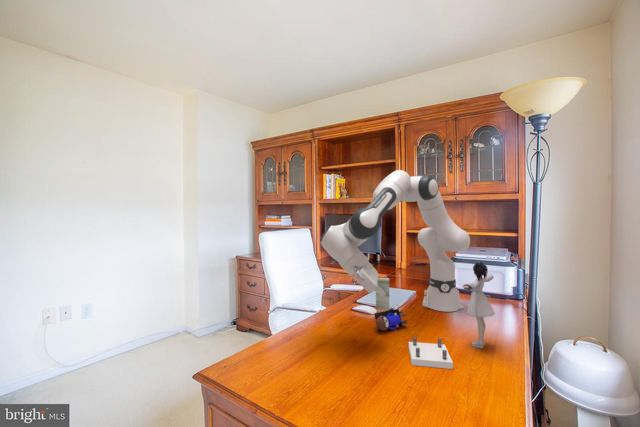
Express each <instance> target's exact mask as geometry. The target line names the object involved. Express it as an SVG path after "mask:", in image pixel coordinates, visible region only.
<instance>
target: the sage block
mask: <svg viewBox="0 0 640 427" xmlns="http://www.w3.org/2000/svg"><path fill="white" fill-rule="evenodd" d="M378 285H379V287H380V288H381V289H383V290H384V291H385V292H386V295H385V296H384V297H382V296H381V295H380V294H378V293H377V292H375V310H379V311H388V310H390V278H389V277H378Z"/></svg>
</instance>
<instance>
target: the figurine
mask: <svg viewBox="0 0 640 427" xmlns="http://www.w3.org/2000/svg"><path fill="white" fill-rule="evenodd" d="M472 270H473V274H474V277H475V276H476V279H475V280H474V281H472V282H468V283H467V284H466V283H465V284H463V285H462V286H461V288H463V290H464V291H466V292H468V293H469V292H470V293H471V294H470V299H469V303H468V308H467V311H466V314H467V315H469V316H470V317H473V318H475V320H476V323H477V331H478V333H477V334H478V335H477V336H478V338H477V340H474V341H472V342H471V346H472V347H473V348H477V349H483V348H484V347H485V338H484V337H485V333H486V332H485V331H486V322H485V319H484V318H488V317H489V318H490V317H493V316H495V314H496V313H495V310H494V309H493V307H492V305H491V303H490V301H489V299H488V298H487V296H486V295H485V293H484V292H483V288H484V286H485V283H489V282H491V281H492V280H493V279H494V275H493V274H491V273H488V267H487V265H486V264H484V263H483V262H482V261H480V262H476V263H474V264H473V267H472Z"/></svg>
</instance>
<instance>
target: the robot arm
mask: <svg viewBox="0 0 640 427" xmlns="http://www.w3.org/2000/svg"><path fill="white" fill-rule="evenodd" d="M439 188H440V186H439V181H437V179H436V178H435V177H434V176H432V175H415V176H414V175H413V176H410V174H409V173H408V172H406V171H404V170H402V169H396V170H394V171H393V172H390V174H388V175H387V176H386V177H385V178H383V180H381V181H380V183H379V184H378V185H377V186H376V187H375V189H374V191H373V193H372V201H370V202H369V204H368V205H367V206H365V207H363V208H359V209H356V210H355V212H353V214H352V215H351V217H350V218H349V220H347V222H345V223H342V224H338V225H329V226H328V227H327V228H326V230H325V232H323V234H322V235H321V238H320V240H319V241H320V245H321V247H323V249H324V250H325V251H326V252H327V253H328V255H330V257H331V258H332V259H334V260H335V261H336V262H337V263H338V265H339V266H340V267H341V269H343V270H344V271H345V272H346V273H347V274H348V275H349V276H350V277H352V276H354V277H355V279H356V281H357V282H358V283H359V284H360V285H361V287H363V289H365V291H367V293H369V294H372V293H373V292H375V293H376V292H377V293H378V294H380V295H381V296H382V297H384V296H385V295H386V292H385V291H384V290H383V289H381V288H380V287H379V285H378V278H379V272H378V271H377V270H376V268H375V267H374V266H373V265H372V263H370V262H369V258H368V257H367V256H366V255H365V254H364V253H363V252H362V251H361V249H359V248H358V247H360V246H361V245H362V244H363V243H365V242H366V241H367V240H369V239H370V238H371V237H373V236H374V235H376V234H377V233H378V231H379V227H380V224H381V220H382V217H383V216H384V215H385V214H386V212H387V211H388V210H392V209H393V208H395V207H396V206H397V205H398V204H400V203H402V202H404V203H405V202H406V203H407V202H408V203H409V202H410V203H411V202H412V203H414V202H416V203H417V206H418V208H419V212H420V214H421V217H422V220H423V222H424V224H425V225H427V226H429V227H424V228H421V229H420V230H419V232H418V233H417V241H418V244H419V245H420V247H422V248H423V250H425V253H426V255H427V256H428V259H429V260H428V261H429V266H430V277H429V280H428V281H429V283H428V285H429V286H428V288H427V289H425V290H424V292H423V294H424V296H423V300H422V305H421V306H422V307H424V308H429V309H431V310H434V311H437V312H438V311H439V312H457V311H458V310H462V309H464V305H463V304H461V303H460V302H461V301H460V298H461V297H460V291H459V290H458V289H457V280H456V265H455V263H454V261H453V260H452V259H451V258H450V257H449V256H447V253H446V252H453V253H458V252H465V251H466V250H468V249H469V246H470V244H471V237H470V235H469V233H468V232H467V231H466V230H465V229H462V228H460V227H459V226H458V225H457V224H456V223H455V222H454V221H453V220H452V218H451V217H450V214H448V211H447V208H446V206H445V203H444V200H443V198H442V197H443V196H442V194H441V192H440V190H439Z"/></svg>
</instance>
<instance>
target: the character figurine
mask: <svg viewBox="0 0 640 427" xmlns="http://www.w3.org/2000/svg"><path fill="white" fill-rule="evenodd" d="M406 316H407V314H406V313H404V312H403V311H402V310H401V311H400V309H399V308H397V309H389V310H382V311H380V312H376V313H374V318H375V319H374V320H375V325H376V328H377V331H378V332H381V331H385V330H389V329H390V330H391V331H393V332H395V331H396V329H397V328H399V327H404V326H403V325H406V324H407V322H408V321H409V320H408V319H403V320H402V317H403V318H404V317H406Z"/></svg>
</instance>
